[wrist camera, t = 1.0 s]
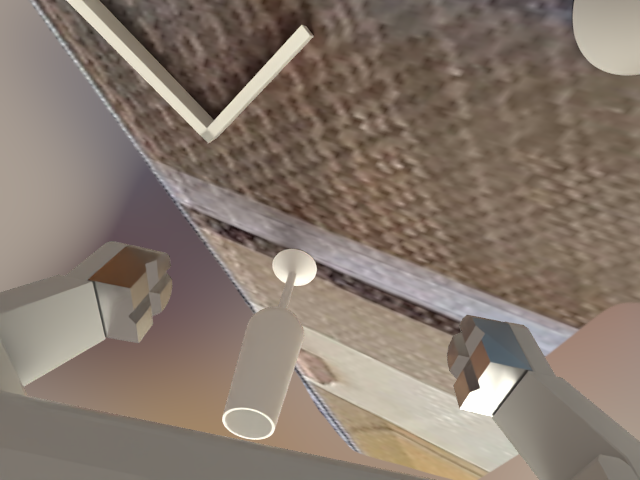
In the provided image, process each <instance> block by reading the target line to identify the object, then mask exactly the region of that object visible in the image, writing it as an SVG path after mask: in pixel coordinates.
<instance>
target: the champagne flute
mask: <svg viewBox="0 0 640 480" xmlns="http://www.w3.org/2000/svg"><path fill="white" fill-rule="evenodd" d="M272 267H273V271H274V273H275V275H276V276H277V277H278V278H279V279H280V280H281V281H283V282H284V283H285V287H284V290H283V293H282V296H281V299H280V303H279V306H278V307H277V306H273V307H268V308H265V309H262V310H260V311H259V312H257V313H255V314H254V315H253V316H252V317H251V319H250V320H249V322H248V324H247V328H246V332H245V336H244V339H243V343H242V347H241V350H240V354H239V358H238V362H237V365H236V369H235V373H234V376H233V380H232V384H231V388H230V391H229V395H228V399H227V402H226V406H225V410H224V414H223V418H222V421H223V424H224V426H225V427H226V428H227V429H228V430H229V431H230V432H232V433H233V434H235V435H238V436H240V437H243V438H247V439H255V440H256V439H264V438H267V437H269V436H270V435H272V434H273V432H274V430H275V427H276V424H277V421H278V418H279V415H280V411H281V408H282V405H283V402H284V399H285V396H286V393H287V390H288V386H289V383H290V380H291V377H292V374H293V371H294V368H295V365H296V362H297V358H298V355H299V352H300V349H301V346H302V343H303V340H304V330H303V327H302V324H301V322H300V321H299V319H298V318H297V317H296V315H295V314H294V313H293V312H291V311H290V310H288V309H287V308H288V304H289V301H290V297H291V293H292V290H293V286H300V285H305V284H307V283H309V282H310V281H312V280H313V278H314V277H315V275H316V271H317V267H316V263H315V261H314V260H313V258H312V257H311V256H310V255H309V254H307V253H306V252H304V251H301V250H298V249H287V250H283V251H281V252H280V253H278V254H277V255H276V256H275V258H274V260H273V265H272Z"/></svg>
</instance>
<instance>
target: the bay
mask: <svg viewBox="0 0 640 480" xmlns="http://www.w3.org/2000/svg"><path fill="white" fill-rule="evenodd" d="M67 1H68V2H69V3H70V4H71V5H72V6H73V7H74V8H75V9H76V10H77V11H78V12H79V13H80V14H81V15H82V16H83V17H84V18H85V19H86V20H87V21H88V22H89V23H90V24H91V25H92V26H93V27H94V28H95V29H96V30H97V31H98V32H99V34H100V35H101V36H102V37H103V38H104V39H105V40H106V41H107V42H108V43H109V44H110V45H111V46H112V47H113V48H114V49H115V50H116V51H117V52H118V53H119V54H120V55H121V56H122V57H123V58H124V59H125V60H126V61H127V62H128V63H129V64H130V65H131V66H132V67H133V68H134V69H135V70H136V71H137V72H138V73H139V74H140V75H141V76H142V77H143V78H144V79H145V80H146V81H147V82H148V83H149V84H150V85H151V86H152V87H153V88H154V89H155V90H156V91H157V92H158V93H159V94H160V95H161V96H162V97H163V98H164V99H165V100H166V101H167V102H168V103H169V104H170V105H171V106H172V107H173V108H174V109H175V110H176V111H177V112H178V113H179V114H180V115H181V116H182V117H183V118H184V119H185V120H186V121H187V122H188V123H189V124H190V125H191V126H192V127H193V128H194V129H195V130H196V131H197V132H198V133H199V134H200V135H201V136H202V137H203V138H204V139H205V140H206V141H207V142H208V143H210V142H211V141H213V140H214V139H216V138H217V137H218V136H219V135H220V134H221V133H222V132H223V131H224V130H225V129H226V128H227V127H228V126H229V125H230V124H231V123H232V122H233V121H234V120H235V119H236V118H237V117H238V115H239V114H240V113H241V112H242V111H243V110H244V109H245V108H246V107H247V106H248V105H249V104H250V103H251V102H252V101H253V100H254V99H255V98H256V97H257V95H258V94H259V93H260V92H261V91H262V90H263V89H264V88H265V87H266V86H267V85H268V84H269V83H270V82H271V81H272V80H273V79H274V78H275V77H276V75H277V74H278V73H279V72H280V71H281V70H282V69H283V68H284V67H285V66H286V65H287V64H288V63H289V62H290V61H291V60H292V59H293V58H294V57H295V55H296V54H297V53H298V52H299V51H300V50H301V49H302V48H303V47H304V46H305V45H306V44H307V43H308V42H309V41H310V40H311V39H312V38H313V37H314V36H313V34H312V33H311V32H310V30H309V29H308V28H307V26H304V25H301V26H300V27H299V28H298V29H297V30H296V32H295V33H294V34H293V35H292V36H291V37H290V38H289V39H288V40H287V41H286V42H285V44H284V45H283V46H282V47H281V48H280V49H279V50H278V51H277V52H276V53H275V54H274V56H273V57H272V58H271V59H270V60H269V61H268V62H267V63H266V64H265V65H264V67H263V68H262V69H261V70H260V71H259V72H258V73H257V74H256V75H255V76H254V77H253V79H252V80H251V81H250V82H249V83H248V84H247V85H246V86H245V87H244V88H243V89H242V91H241V92H240V93H239V94H238V95H237V96H236V97H235V98H234V99H233V100H232V101H231V103H230V104H229V105H228V106H227V107H226V108H225V109H224V110H223V111H222V112H221V113H220V115H219V116H218V117H217V118H216V119H215V120H213V118H212V117H211V116H210V115H209V114H208V113H207V112H206V111H205V110H204V109H203V108H202V107H201V106H200V105H199V104H198V103H197V102H196V101H195V100H194V99H193V98H192V97H191V96H190V94H189V93H188V92H187V91H186V90H185V89H184V88H183V87H182V86H181V85H180V84H179V83H178V82H177V81H176V80H175V79H174V78H173V77H172V76H171V75H170V74H169V73H168V72H167V70H166V69H165V68H164V67H163V66H162V65H161V64H160V63H159V62H158V61H157V60H156V59H155V58H154V57H153V56H152V55H151V54H150V53H149V52H148V51H147V50H146V49H145V47H144V46H143V45H142V44H141V43H140V42H139V41H138V40H137V39H136V38H135V37H134V36H133V35H132V34H131V33H130V32H129V31H128V30H127V29H126V28H125V27H124V26H123V25H122V23H121V22H120V21H119V20H118V19H117V18H116V17H115V16H114V15H113V14H112V13H111V12H110V11H109V10H108V9H107V8H106V7H105V6H104V5H103V4H102V3H101V2H100V1H99V0H67Z"/></svg>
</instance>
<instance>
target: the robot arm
mask: <svg viewBox="0 0 640 480" xmlns="http://www.w3.org/2000/svg"><path fill="white" fill-rule="evenodd" d="M573 29H574V35H575V39H576V42H577V44H578V47H579V49H580V50H581V52H582V54H583V55H584V56H585V58H586V59H587V60H588V61H589V62H590V63H591V64H593V65H594V66H595V67H597V68H599V69H601V70H603V71H605V72H608V73H612V74H617V75H639V74H640V0H574V6H573ZM170 266H171V264H170V256H169V255H168V254H166V253H164V252H159V251H154V250H151V249H146V248H142V247H137V246H133V245H128V244H123V243H118V242H114V241H112V242H107V243H106V244H104V245H103V246H102V247H100V248H99V249H98V250H97V251H96V252H94V253H93V254H92V255H90V256H89V257H88V258H87V259H85V260H84V261H83V262H82V263H80V264H79V265H78V266H77V267H75V268H74V269H73V270H72V271H70V272H69V273H68V274H67V275H65V276H62V275H56V276H53V277H50V278H46V279H43V280H40V281H36V282H33V283H30V284H26V285H23V286H20V287H17V288H13V289H10V290H7V291H4V292H0V480H434V479H430V478H425V477H420V476H415V475H410V474H405V473H400V472H395V471H390V470H385V469H381V468H376V467H370V466H366V465H361V464H356V463H351V462H346V461H341V460H336V459H331V458H326V457H322V456H317V455H312V454H307V453H302V452H298V451H293V450H288V449H283V448H278V447H273V446H268V445H264V444H259V443H254V442H249V441H244V440H239V439H234V438H230V437H224V436H220V435H215V434H210V433H205V432H200V431H195V430H191V429H185V428H181V427H176V426H171V425H166V424H161V423H157V422H152V421H146V420H142V419H137V418H132V417H127V416H122V415H118V414H113V413H108V412H103V411H98V410H93V409H88V408H84V407H79V406H74V405H69V404H64V403H59V402H54V401H49V400H44V399H40V398H35V397H30V396H28V395H27V393H26V391H25V389H24V386H25V385H27V384H29V383H31V382H32V381H34V380H36V379H37V378H39V377H41V376H43V375H44V374H46V373H48V372H50V371H51V370H53V369H55V368H56V367H58V366H60V365H61V364H63V363H65V362H66V361H68V360H70V359H72V358H74V357H75V356H77V355H79V354H81V353H82V352H84V351H86V350H87V349H89V348H91V347H93V346H94V345H96V344H98V343H99V342H101V341H103V340H105V337H107V338H113V339H119V340H125V341H130V342H136V343H139V342H140V341H141V339H142V338H143V337H144V335H145V334H146V333H147V331H148V330H149V329H150V327H151V326H152V325H153V320H152V316H154V315H156V314H159V313H161V312H162V311H163V309H164V308H165V307H166V305H167V303H168V300H169V298H170V296H171V290H172V279H171V277H170V276H169V275H168V274H167V272H166V271H167V270H168V269H169V268H170ZM459 326H460V329H461V333H459V334H457V335H455V336H453V337H452V339H451V342H450V344H449V346H448V352H447V363H448V367H449V371H450V372H451V373H452V374H453V375H454V377H455V378H456V379H457V380H456V382H455V384H454V385H453V386H454V390H455V394H456V398H457V401H458V405H459V409H462V410H467V411H471V412H475V413H480V414H484V415H488V416H492V419H493V420H494V421H495V423H496V424H497V425H498V427H499V428H500V429H501V430H502V432H503V433H504V434H505V436H506V437H507V438H508V440H509V441H510V442H511V443H512V445H513V446H514V447H515V449H516V450H517V451H518V453H519V454H520V455H521V457H522V458H523V459H524V460H525V462H526V463H527V464H528V465H529V467H530V468H531V470H532V471H533V472H534V473H535V475H536V476H537V477H538V479H539V480H640V442H639V441H638V440H637V439H636V438H635V437H634V436H632V435H631V434H630V433H629V432H627V431H626V430H625V429H624V428H622V427H621V426H620V425H619V424H618V423H617V422H615V421H614V420H613V419H612V418H610V417H609V416H608V415H607V414H605V413H604V412H603V411H602V410H601V409H599V408H598V407H597V406H596V405H595V404H593V403H592V402H591V401H590V400H589V399H587V398H586V397H585V396H583V395H582V394H581V393H580V392H579V391H578V390H576V389H575V388H574V387H573V386H571V385H570V384H569V383H568V382H567V381H565V380H564V379H563V378H561V377H556V376H555V374H554V372H553V370H552V369H551V367H550V365H549V364H548V362H547V360H546V358H545V357H544V355H543V353H542V351H541V350H540V348H539V346H538V345H537V343H536V341H535V339H534V338H533V336H532V334H531V332H530V331H529V329H528V328H527V327H525V326H524V325H520V324H514V323H509V322H501V321H496V320H491V319H486V318H481V317H476V316H471V315H466V316H465V317H464V318H463V319H462V321H461V323H460V324H459Z"/></svg>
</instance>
